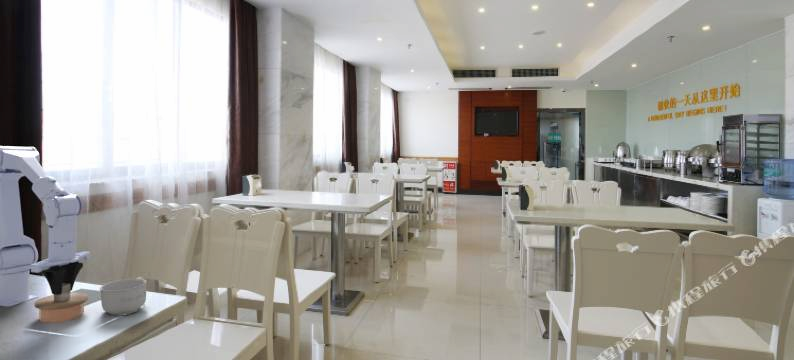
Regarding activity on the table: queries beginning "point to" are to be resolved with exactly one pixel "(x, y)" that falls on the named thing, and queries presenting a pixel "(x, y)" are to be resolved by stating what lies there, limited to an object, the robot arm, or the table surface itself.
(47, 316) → the bowl
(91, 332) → the table surface
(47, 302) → the lid
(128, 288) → the teacup
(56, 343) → the table surface
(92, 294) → the mat
